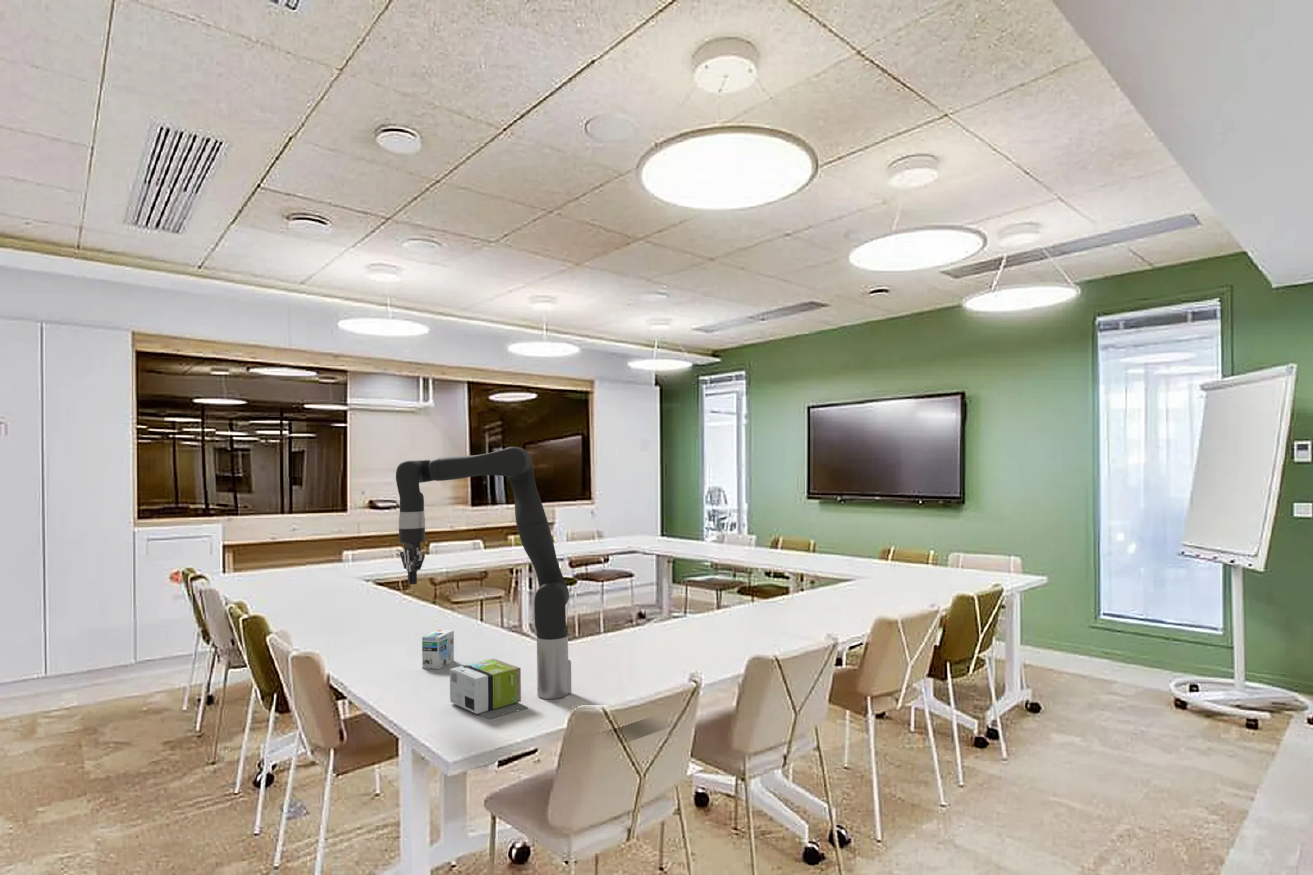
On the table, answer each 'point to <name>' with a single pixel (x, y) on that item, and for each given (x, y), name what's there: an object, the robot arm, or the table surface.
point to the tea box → (485, 685)
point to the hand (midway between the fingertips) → (412, 584)
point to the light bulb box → (437, 649)
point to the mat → (503, 710)
